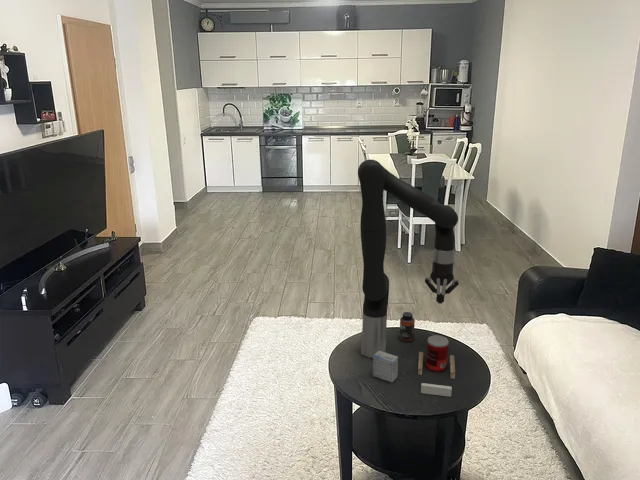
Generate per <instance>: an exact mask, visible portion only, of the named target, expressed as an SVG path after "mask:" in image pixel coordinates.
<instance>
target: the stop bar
mask: <svg viewBox="0 0 640 480" xmlns="http://www.w3.org/2000/svg"><path fill="white" fill-rule="evenodd" d="M420 386H421V388H420V393H421V394H425V395H433V396H435V395H436V396H443V397H449V398H450V397H452V391H453V390H452V389H453V387H452V386H449V385H441V384H433V383H423V382H421V385H420Z"/></svg>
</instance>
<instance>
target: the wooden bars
mask: <svg viewBox="0 0 640 480" xmlns="http://www.w3.org/2000/svg"><path fill="white" fill-rule="evenodd" d="M423 363H424V352H423V351H422V352H421V351H419V352H418V364H417V365H418V366H417V375H419V376H422V375H423V366H424V365H423ZM449 378H450V379H452V380H455V379H456V365H455V355H453V354H450V355H449Z"/></svg>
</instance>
